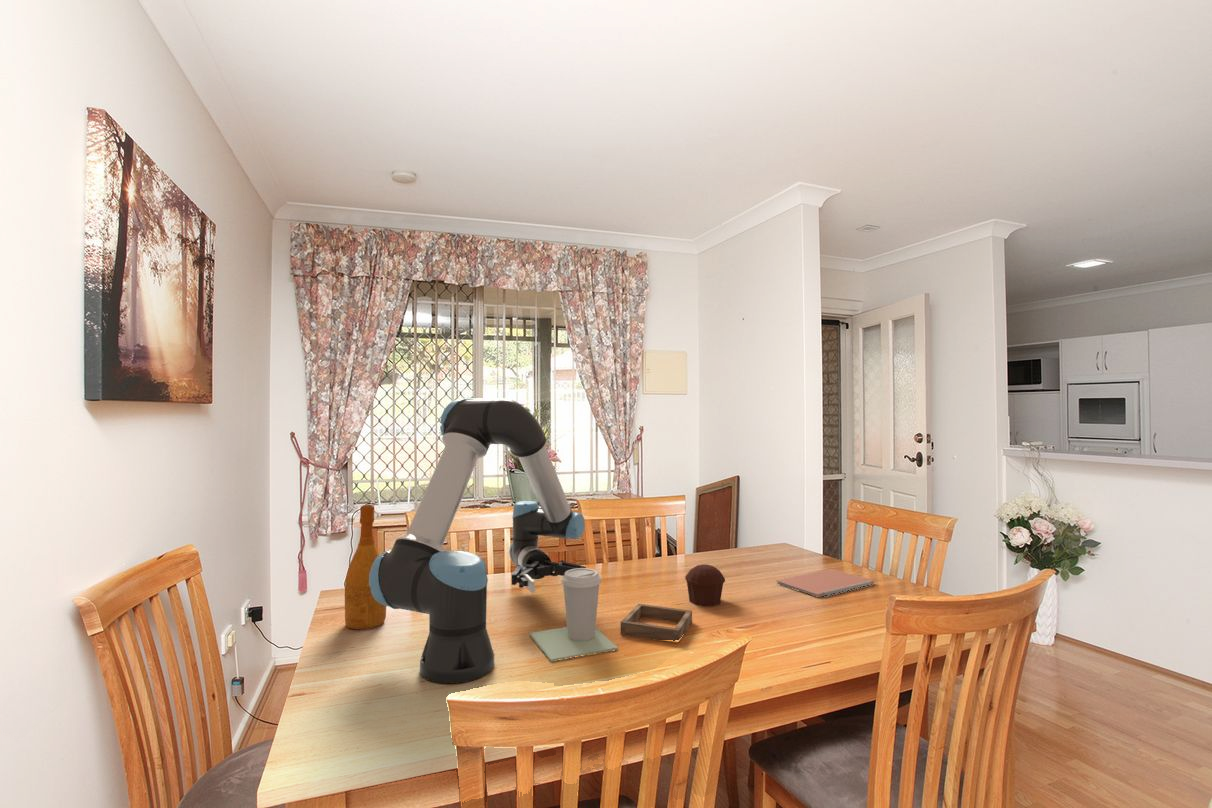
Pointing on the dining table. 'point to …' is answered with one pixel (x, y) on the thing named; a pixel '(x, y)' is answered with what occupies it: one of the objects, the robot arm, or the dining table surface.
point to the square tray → (654, 631)
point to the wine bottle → (363, 579)
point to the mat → (570, 644)
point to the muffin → (705, 585)
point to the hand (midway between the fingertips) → (559, 583)
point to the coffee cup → (581, 602)
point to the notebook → (825, 582)
